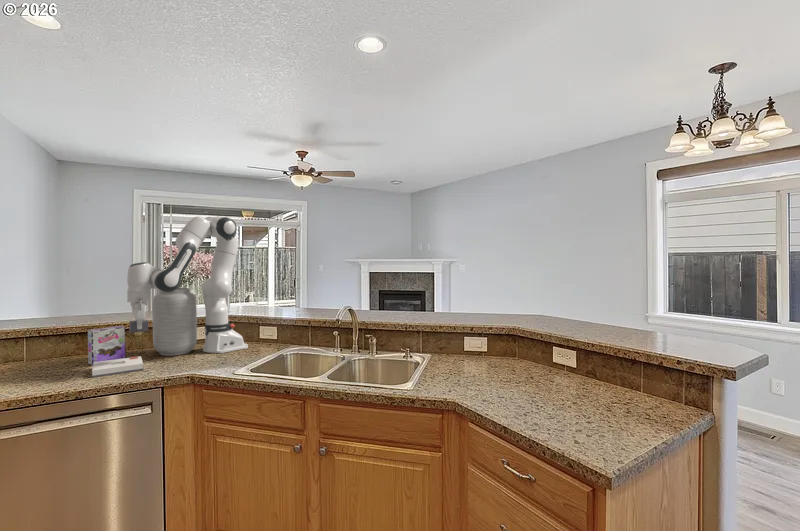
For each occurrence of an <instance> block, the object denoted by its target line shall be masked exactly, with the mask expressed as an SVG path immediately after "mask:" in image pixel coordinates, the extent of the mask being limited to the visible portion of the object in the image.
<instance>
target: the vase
mask: <svg viewBox="0 0 800 531" xmlns="http://www.w3.org/2000/svg"><path fill="white" fill-rule="evenodd" d="M196 298H197V297H196V295H195V293H193V292H191V290H190V288H189V287H178V288H177V289H175V290H174V291H171V292H164V291H162V290H158V293H156V294H155V295H154V296H153V298H152V306H151V308H152V309H151V310H152V313H151V314H152V316H151V317H152V343H153V349H155V351H157V353H159V354H160V355H161V356H166V357H170V356H171V357H172V356H173V357H174V356H180V355H185V354H188V353H190V352H191V351H192V350H193V349H194V348H195V347H196V345H197V342H198V317H197V316H198V315H197V314H198V313H197V299H196Z"/></svg>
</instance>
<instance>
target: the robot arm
mask: <svg viewBox="0 0 800 531" xmlns="http://www.w3.org/2000/svg"><path fill="white" fill-rule="evenodd" d="M237 230H238V228H237V224H236V222H235V220H234V219H232V218H230V217H227V216H208V217H203V216H194V217H193V218H191V219H190V220H189V221H188V222H187V223H186V224H185V225H184V226H183V227H182V228H181V230H180V232H179V233H178V234H177V237H176V238H175V242H174V243H175V245H176V248H177V250H178V252H177V254H176V256H175V257H174V259H173V260H172V262H171V263H170V264H169V266H168V267H167V268H165V269H161V268H159V267H156V266H153V265H151V263H149V262H147V261H145V262H137V263H136V262H135V263H132V264H130V265H129V267H128V270H127V277H126V279H127V281H126V282H127V285H128V287H127V292H126V295H127V296H126V297H127V300H126V301H127V303H130V307H131V310H132V311H131V312H132V316H133V317H134V321H137V329H142V320H146V306H147V305H148V303H149V302H151V290H152V289H154V290H158V291H159V290H162V291H164V292H171V291H174V290H175V289H177V288H180V287H179V286H180V284H181V282H182V278H183V277H182V276H183V274H184V272H185V271H186V269H187V267H188V265H189V264H190V262H192V259H193V257H194V255H195V254H196V252H197V251H198V249H199V248H200V247H201V245H202V244H203V243H204V241H205V240H206V238H207V237H212V238H216V246H215V248H214V252H213V257H212V260H211V265H210V266H211V268H210V269H211V270H210V271H211V272H210V277H209V278H207V279H205V280H204V281H203V282H202V284H201V289H202V296H203V303H204V304H203V305H204V308H205V323H204V336H205V339H204V345H203V349H202V351H203V352H204V353H208V354H209V353H216V354H223V353H228V352H229V353H230V352H234V351H239V350H245V349H248V348H249V345H248V343H245V342H244V337H243V336H242V335H241V334H240V333H238V332H237V331H235V330H234V328H235V326H236V325H235V324H234V323H230V322H229V308H228V304H227V300H226V299H227V297H229V296H230V295H231V294H232V290H233V286H232V284H233V271H234V267H235V262H236V259H237V255H238V248H239V238H238V236H236V235H237Z"/></svg>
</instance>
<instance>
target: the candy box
mask: <svg viewBox="0 0 800 531" xmlns="http://www.w3.org/2000/svg"><path fill="white" fill-rule="evenodd" d="M126 353H127V352H126V327H125V326H123V325H117V326H110V327H109V326H108V327H101V328H93V329H87V363H88V364H89V365H90V366H92V367H93V362H100V361H108V360H116V359H123V358H127V356H126V355H127V354H126Z"/></svg>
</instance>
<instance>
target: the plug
mask: <svg viewBox="0 0 800 531" xmlns="http://www.w3.org/2000/svg"><path fill="white" fill-rule="evenodd" d="M128 323H129V328H128V329H129V333H134V336H141V335H143V334H144V332H149V320H148V319H145V320H142V329H137V321H136V320H129V322H128Z"/></svg>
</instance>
